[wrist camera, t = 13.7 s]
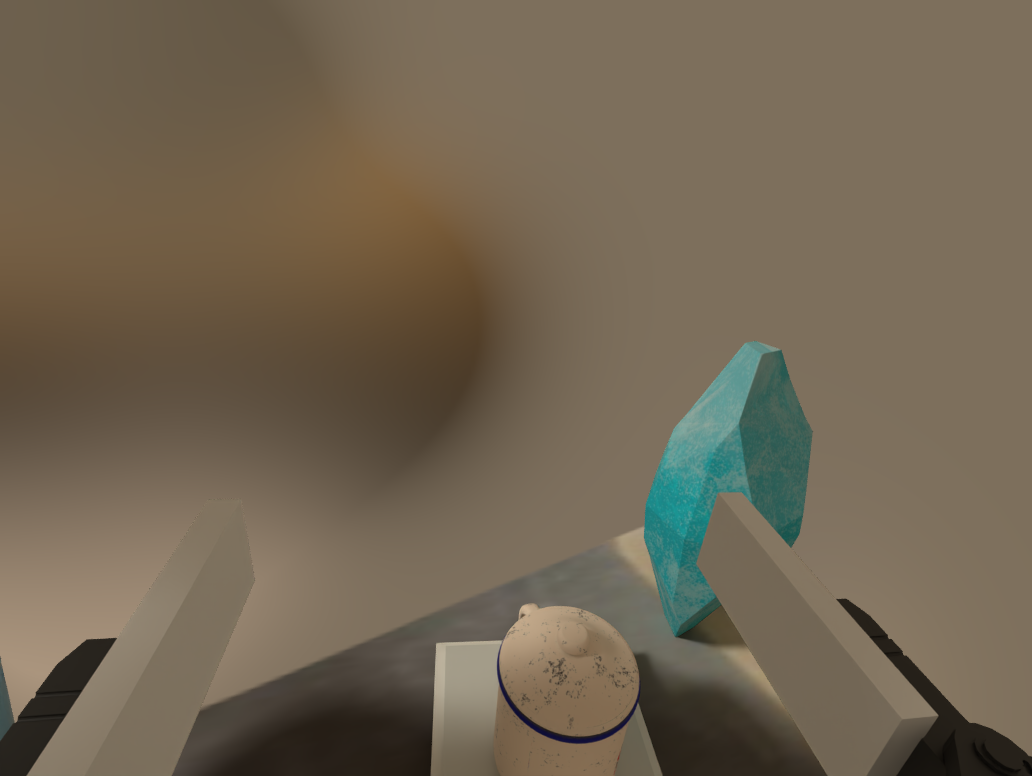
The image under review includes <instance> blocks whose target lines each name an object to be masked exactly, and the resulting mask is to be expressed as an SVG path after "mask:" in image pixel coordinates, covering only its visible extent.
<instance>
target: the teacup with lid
mask: <svg viewBox="0 0 1032 776" xmlns="http://www.w3.org/2000/svg"><path fill="white" fill-rule="evenodd" d="M497 676H498V682H499V686H498V697H497V708H496V719H495V729H494V742H493V747H494V757H495V762H496V766H497V769H498V772H499V774H500V776H614V775H615V772H616V768H617V764H618V760H619V756H620V753H621V749H622V745H623V741H624V737H625V734H626V730H627V726H628V722H629V720H630V718H631V717H632V715H633V714H634V712H635V710H636V707H637V704H638V701H639V696H640V675H639V671H638V666H637V663H636V660H635V657H634V655H633V652H632V651H631V649H630V647H629V645H628V644H627V642H626V641H625V639H624V638H623V637H622V636H621V634H620V633H619V632H618V631H617V630H616V629H615V628H614V627H613V626H611V625H610V624H609V623H608V622H606V621H605V620H603V619H602V618H600V617H598V616H597V615H595V614H592V613H590V612H588V611H585V610H582V609H579V608H574V607H568V606H552V607H545V608H541V609H540V608H539V607H538V606H537V605H536V604H533V603H530V604H526V605H523V606H522V607H521V609H520V612H519V620H518V621H517V622H516V623H515V624H514V625H513V626H512V627H511V629H510V630H509V632H508V633H507V635H506V636H505V638H504V639H503V641H502V644H501V646H500V649H499V653H498V658H497Z"/></svg>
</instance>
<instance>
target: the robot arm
mask: <svg viewBox="0 0 1032 776" xmlns="http://www.w3.org/2000/svg"><path fill="white" fill-rule="evenodd" d="M696 564H697V566H698V568H699V569H700V571H701V572H702V574H703V576H704V577H705V579H706V580H707V582H708V584H709V585H710V587H711V588H712V590H713V592H714V593H715V595H716V597H717V598H718V600H719V601H720V603H721V605H722V606H723V608H724V609H725V611H726V613H727V614H728V616H729V617H730V619H731V621H732V622H733V624H734V626H735V627H736V629H737V630H738V632H739V634H740V635H741V637H742V638H743V640H744V642H745V643H746V645H747V647H748V648H749V650H750V651H751V653H752V655H753V656H754V658H755V659H756V661H757V663H758V664H759V666H760V667H761V669H762V671H763V672H764V674H765V676H766V677H767V679H768V680H769V682H770V684H771V685H772V687H773V688H774V690H775V692H776V693H777V695H778V696H779V698H780V700H781V701H782V703H783V705H784V706H785V708H786V709H787V711H788V713H789V714H790V716H791V717H792V719H793V721H794V722H795V724H796V725H797V727H798V729H799V730H800V732H801V734H802V735H803V737H804V738H805V740H806V742H807V743H808V745H809V746H810V748H811V750H812V751H813V753H814V755H815V756H816V758H817V759H818V761H819V763H820V764H821V766H822V767H823V769H824V771H825V772H826V774H827V775H828V776H1032V757H1031V756H1028V755H1027V754H1026V753H1025V752H1024V751H1023V750H1022V749H1021V748H1019V747H1018V746H1017V745H1016V744H1014V743H1013V742H1012V741H1011V740H1010V739H1008V738H1006V737H1005V736H1003V735H1001V734H999V733H998V732H996V731H994V730H993V729H990V728H988V727H985V726H982V725H979V724H976V723H969V722H968V721H967V720H966V719H965V718H964V717H963V716H962V715H961V714H960V713H959V712H958V711H957V710H956V709H955V708H954V706H952V704H951V703H950V702H949V701H948V700H947V699H946V698H945V697H944V696H943V695H942V694H941V692H940V691H939V690H938V689H937V688H936V687H935V686H934V685H933V684H932V683H931V682H930V680H929V679H928V678H927V677H926V676H925V675H924V674H923V673H922V672H921V671H920V670H919V669H918V667H917V666H916V665H915V664H914V663H913V662H912V661H911V660H910V659H909V658H908V657H907V656H904V655H903V653H902V652H903V651H902V650H901V649H900V648H899V647H898V646H897V645H896V644H895V643H894V642H893V640H892V639H888V635H887V634H886V633H885V632H884V631H883V630H882V629H881V628H880V626H879V625H878V624H877V623H876V622H875V621H874V620H873V619H872V618H871V617H870V616H869V615H868V614H867V613H865V612H864V611H863V610H861V609H860V608H858V607H857V606H856V605H854V604H853V603H851V602H850V601H849V600H847V599H835V598H834V596H833V595H832V594H831V593H830V592H829V591H828V590H827V588H826V587H825V586H824V585H823V584H822V583H821V582H820V581H819V579H818V578H817V577H816V576H815V575H814V574H813V573H812V571H811V570H810V569H809V568H808V567H807V566H806V565H805V564H804V563H803V561H802V560H801V559H800V558H799V557H798V556H797V554H796V553H795V552H794V551H793V550H792V549H791V548H790V547H789V545H788V544H787V543H786V542H785V541H784V540H783V539H782V537H781V536H780V535H779V534H778V533H777V532H776V531H775V530H774V528H773V527H772V526H771V525H770V524H769V523H768V522H767V520H766V519H765V518H764V517H763V516H762V515H761V514H760V513H759V511H758V510H757V509H756V508H755V507H754V506H753V505H752V503H751V502H750V501H749V500H748V499H747V498H746V497H745V496H744V494H743V493H742V492H731V493H718V494H717V497H716V501H715V504H714V507H713V511H712V514H711V517H710V520H709V524H708V527H707V530H706V533H705V537H704V540H703V543H702V546H701V550H700V553H699V556H698V559H697V563H696ZM254 581H255V577H254V571H253V565H252V560H251V554H250V548H249V542H248V536H247V531H246V524H245V519H244V512H243V507H242V501H241V499H209V500H208V501H207V503H206V504H205V506H204V507H203V509H202V510H201V512H200V513H199V515H198V516H197V518H196V519H195V521H194V522H193V524H192V525H191V527H190V528H189V530H188V532H187V533H186V535H185V536H184V538H183V539H182V541H181V542H180V544H179V545H178V547H177V548H176V550H175V551H174V553H173V554H172V556H171V557H170V559H169V560H168V562H167V563H166V565H165V566H164V568H163V570H162V571H161V573H160V574H159V576H158V577H157V578H156V580H155V582H154V583H153V585H152V586H151V588H150V589H149V591H148V592H147V594H146V595H145V597H144V598H143V600H142V601H141V603H140V604H139V606H138V607H137V609H136V611H135V612H134V613H133V615H132V616H131V618H130V620H129V621H128V623H127V624H126V626H125V627H124V629H123V630H122V632H121V633H120V635H119V636H118V638H108V639H89V640H86V641H85V642H83V643H82V644H81V645H80V646H78V647H77V648H76V649H75V650H74V651H72V652H71V653H70V654H69V655H68V656H66V657H65V658H64V659H63V660H62V661H60V662H59V663H58V664H57V665H56V666H55V668H54V669H53V670H52V672H51V673H50V674H49V676H48V677H47V679H46V680H45V681H44V683H43V684H42V685H41V687H40V688H39V690H38V691H37V692H36V696H35V698H34V699H31V700H30V701H29V703H28V704H27V706H26V707H25V708H24V709H23V711H22V712H21V714H20V715H19V716H18V721H17V722H16V723H14V717H13V713H12V708H11V704H10V699H9V695H8V690H7V686H6V682H5V677H4V673H3V669H2V664H1V658H0V776H172V774H173V771H174V769H175V767H176V764H177V762H178V759H179V757H180V755H181V752H182V750H183V748H184V745H185V743H186V741H187V738H188V736H189V734H190V731H191V729H192V727H193V724H194V722H195V720H196V717H197V715H198V713H199V710H200V708H201V706H202V703H203V701H204V699H205V696H206V694H207V692H208V689H209V687H210V684H211V682H212V680H213V678H214V675H215V673H216V670H217V668H218V666H219V663H220V661H221V659H222V656H223V654H224V652H225V649H226V647H227V644H228V642H229V639H230V638H231V635H232V633H233V631H234V628H235V626H236V624H237V621H238V619H239V617H240V614H241V612H242V610H243V607H244V605H245V603H246V600H247V598H248V595H249V593H250V591H251V589H252V586H253V584H254Z"/></svg>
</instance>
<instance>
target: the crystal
mask: <svg viewBox="0 0 1032 776" xmlns="http://www.w3.org/2000/svg"><path fill="white" fill-rule="evenodd" d="M812 432H813V431H812V429H811V427H810V425H809V424H808V422H807V420H806V418H805V416H804V413H803V411H802V408H801V406H800V403H799V401H798V398H797V396H796V393H795V391H794V388H793V386H792V383H791V380H790V378H789V374H788V371H787V367H786V364H785V361H784V358H783V354H782V351H781V350H780V349H777V348H774V347H771V346H769V345H766V344H763V343H760V342H757V341H754V342H748V343H745V344H744V345H743V347H742V348H741V349H740V350H739V352H738V353H737V354H736V355H735V356H734V358H733V359H732V360H731V361H730V362H729V364H728V365H727V366H726V367H725V369H724V370H723V371H722V372H721V373H720V374H719V376H718V377H717V378H716V379H715V381H714V382H713V383H712V384H711V385H710V387H709V388H708V389H707V390H706V391H705V393H704V394H703V395H702V396H701V397H700V399H699V400H698V401H697V402H696V404H695V405H694V406H693V407H692V409H691V410H690V411H689V412H688V413H687V414H686V416H685V417H684V418H683V419H682V420H681V421H680V422H679V423H678V425H677V426H676V427H675V428H674V430H673V432H672V435H671V437H670V439H669V442H668V444H667V446H666V449H665V451H664V454H663V457H662V459H661V462H660V464H659V467H658V470H657V472H656V475H655V478H654V481H653V484H652V487H651V490H650V493H649V496H648V499H647V502H646V510H645V529H644V539H645V543H646V546H647V549H648V552H649V554H650V558H651V562H652V566H653V570H654V574H655V578H656V582H657V586H658V590H659V594H660V598H661V602H662V606H663V610H664V614H665V616H666V618H667V620H668V622H669V625H670V627H671V629H672V631H673V633H674V635H675V637H678V636H679V635H681V634H683V633H685V632H686V631H688V630H690V629H691V628H693V627H694V626H696V625H697V624H698V623H699V622H701V621H702V620H703V619H704V618H706V617H707V616H708V615H709V614H711V613H712V612H713V611H714V610H716V609H717V608H718V607H719V606H721V603H720V601H719V600H718V598H717V597H716V595H715V593H714V592H713V590H712V588H711V587H710V585H709V584H708V582H707V580H706V579H705V577H704V576H703V574H702V572H701V571H700V569H699V568H698V566H697V564H696V563H697V559H698V556H699V553H700V550H701V546H702V543H703V540H704V537H705V533H706V530H707V527H708V524H709V520H710V517H711V514H712V511H713V507H714V504H715V501H716V497H717V494H718V493H731V492H742V493H743V494H744V496H745V497H746V498H747V499H748V500H749V501H750V502H751V503H752V505H753V506H754V507H755V508H756V509H757V510H758V511H759V513H760V514H761V515H762V516H763V517H764V518H765V519H766V520H767V522H768V523H769V524H770V525H771V526H772V527H773V528H774V530H775V531H776V532H777V533H778V534H779V535H780V536H781V537H782V539H783V540H784V541H785V542H786V543H787V544H788V545H789V547H790V548H791V547H792V545H793V544H794V542H795V540H796V539H797V537H798V535H799V533H800V528H801V523H802V517H803V510H804V503H805V495H806V487H807V478H808V468H809V459H810V450H811V441H812Z"/></svg>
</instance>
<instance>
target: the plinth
mask: <svg viewBox="0 0 1032 776" xmlns="http://www.w3.org/2000/svg"><path fill="white" fill-rule="evenodd" d="M501 644H502V641H478V642H452V643H436V664H435V688H434V711H433V734H432V758H431V776H500V774H499V772H498V769H497V766H496V762H495V757H494V747H493V742H494V729H495V719H496V708H497V697H498V686H499V682H498V676H497V658H498V653H499V649H500V646H501ZM614 776H662V773H661V770H660V767H659V764H658V761H657V758H656V755H655V752H654V749H653V746H652V743H651V740H650V737H649V734H648V731H647V728H646V725H645V722H644V719H643V716H642V713H641V710H640V707H639V704H637V707H636V710H635V712H634V714H633V715H632V717H631V718H630V720H629V722H628V726H627V730H626V734H625V737H624V741H623V745H622V749H621V753H620V756H619V760H618V764H617V768H616V772H615V775H614Z"/></svg>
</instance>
